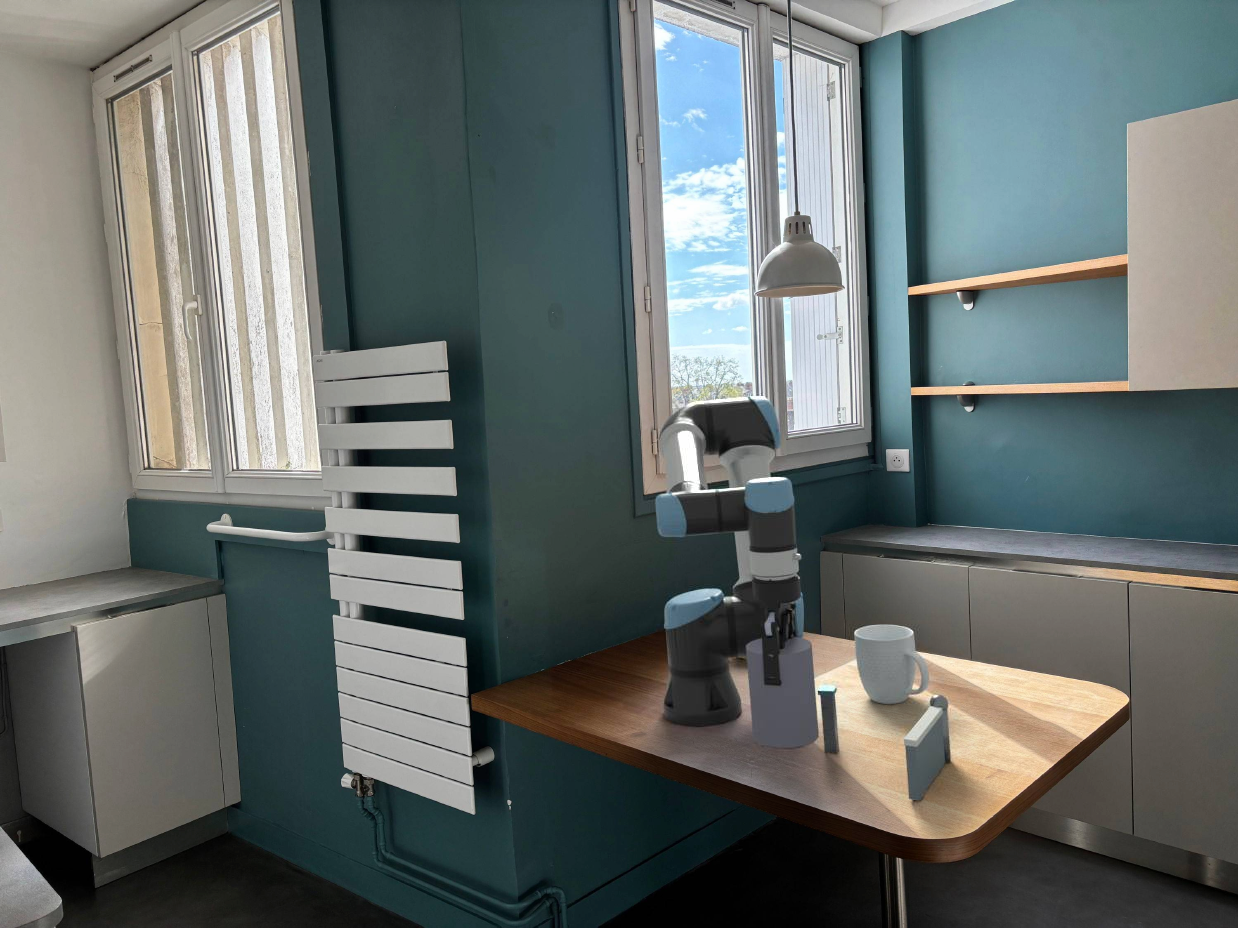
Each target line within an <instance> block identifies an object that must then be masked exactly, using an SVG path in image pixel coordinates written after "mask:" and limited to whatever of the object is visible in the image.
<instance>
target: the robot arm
mask: <svg viewBox="0 0 1238 928" xmlns="http://www.w3.org/2000/svg"><path fill="white" fill-rule="evenodd" d="M781 443H782V439H781V432H780V426H779V422H778V416H777V413H776V410H775V407H774V405H773V403H772V401H771V400H770V399H769V398H767V397H766V396H761V395H760V396H750V395H747V396H744V397H733V398H726V399H725V398H723V399H714V400H713V399H711V400H700V401H695V402H691V403H689V404H686V405H684V406H683V407H680V409H678V410H676V411H675V412H674V413H672V414H671V416H669V418H668V419H667V420H666V421H665V422H664V423H663V426H662V428H661V430H660V433H659V437H658V447H659V451H660V454H661V456H662V458H664V466H665V467H664V469H665V472H664V473H665V484H666V485H665V487H666V491H665V492H666V493H660V494H658V495H657V496H656V497H655V514H656V524H657V525H656V526H657V530H658V531H657V532H658V533H659V535H660V536H661V537H664V538H665V537H666V538H673V537H676V538H677V537H678V538H684V537H689V536H690V537H692V536H702V535H713V534H725V533H726V534H727V533H734V539H735V547H736V557H737V564H738V565H737V567H738V574H739V579H738V580H737V581H736V583H735V584H734V585H733V587H732V592H733V593H732V594H733V595H731V596H725V594H724V593H723V591H722V590H721V589H719V588H701V589H696V590H693V591H688V592H687V591H686V592H684V593H681V594H678V595H676V596H674V597H672V598H671V599H670V600H669V601H667V602H666V604H665V606H664V611H663V612H664V624H663V627H664V629H665V635H666V636H665V637H666V646H667V647H666V648H667V661H668V662H667V663H668V671H669V677H668V680H667V681H668V682H667V685H666V689H665V694H664V698H663V716H664V718H666V719H667V720H668V721H670V722H671V723H674V724H678V725H682V726H690V727H691V726H693V727H698V726H700V727H701V726H712V725H718V724H719V725H720V724H722V723H727V722H729V721H732V720H734V719H736V718H737V717H738V716H740V714H742V713H741V712H742V698H741V695H740V693H739V691H738V688H737V686H736V683H735V682H734V679H733V676H732V674H731V671H730V663H729V662H730V661H729V659H730V658H731V659H732V658H738V657H747V655H746V645H747V644H748V643H750V642H751V641H754V640H757V639H761V638H762V650H763V669H764V684H765V685H775V686H781V684H782V682H781V680H780V670H779V658H778V655H779V653H780V649H784V648H785V642H786V641H787V640H788V639H792V638H793V637H798V638H803V639H804V621H805V620H804V618H805V616H804V615H805V614H804V597H803V596H804V595H803V592H802V590H801V577H800V575H799V574H797V573H798V572H799V570H800V569H799V561H801V560H802V555H801V554H800V553H798V543H797V533H796V517H795V516H796V515H795V496H794V492H793V485H792V481H791V480H790V479H789V478H788V477H779V476H777V477H776V476H773V477H772V476H771V471H770V464H771V462H772V461H773V460H774V458H775V456H776V451H777V450H779V449H780V448H781ZM704 456H718V463H719V464H720V465H721V466H723V467H724V468H725V469H727V476H728V477H727V478H728V486H729V488H717V489H716V488H715V489H709V486H708V481H707V473H706V466H705V462H704V461H705V460H704ZM769 655H773V657H771V656H769ZM768 677H774V678H768Z"/></svg>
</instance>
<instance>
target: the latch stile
mask: <svg viewBox="0 0 1238 928" xmlns="http://www.w3.org/2000/svg"><path fill="white" fill-rule="evenodd" d="M837 688H838V687H837V685H825V684H822V685H820V686H819V688H818V689H817V696H820V708H821V709H820V710H821V711H820V712H821V720H822V721H821V722H822V731H823V732H822V734H823V735H822V736H823V748H824V754H830V755H831V754H834V755H837V754H838V752H839V750H840V742H839V733H838V732H839V730H838V717H837V706H836V704H837V703H836V693H837V691H838V689H837Z"/></svg>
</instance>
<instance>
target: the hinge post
mask: <svg viewBox="0 0 1238 928" xmlns="http://www.w3.org/2000/svg"><path fill="white" fill-rule="evenodd" d="M930 706H933V707H941V708H942V710H943V714H942V724H943V739H944V753H945V764H944V765H947V764H950V763H951V762H952V757H951V743H950V726H949V714H948V709H949V701H948V699H947V698H946V696H944V695H942V694H935V695H933V696H931V698H930V700H929V707H930Z"/></svg>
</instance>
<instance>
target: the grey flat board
mask: <svg viewBox="0 0 1238 928" xmlns="http://www.w3.org/2000/svg"><path fill="white" fill-rule="evenodd" d="M942 714H943V710H942V708H941V707H933V706H930V705H929V707H928V709H927V710H926V712H925V713H924V714H923V715H922V716H921V718H920V719H918V720H917V721H916V723H915V725H914V726H913V727H912V729H910V731H909V732H908V733H907V734H906V736H905V737H904V738H903V745H904V749H905V760H906V761H905V763H906V773H907V774H906V775H907V776H906V777H907V788H908V789H907V791H908V799H909V800H915V801H919V802H920V801H921V799H922V798H923V796H924V795H925V793H927V790H928V789H929V788H930V786H931V785H932V783H933V781H934V780H935V778H936V777H937V775H938V774H939V773H940V771H941V770H942V768H943V767H944V765H946V764H945V753H944V739H943V724H942Z"/></svg>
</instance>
